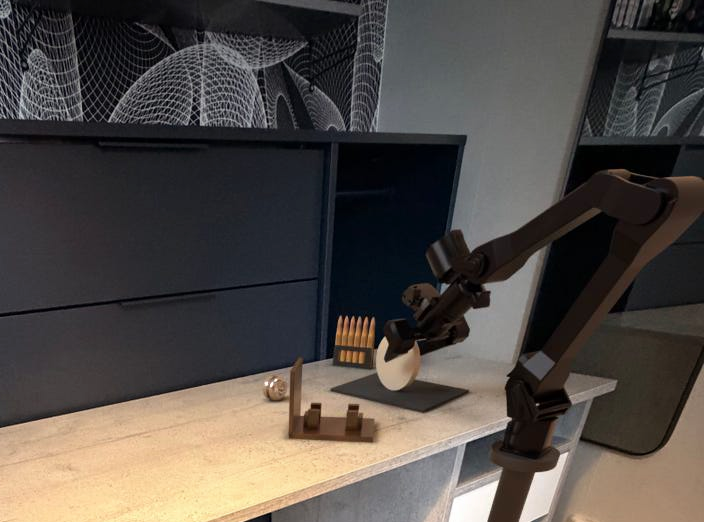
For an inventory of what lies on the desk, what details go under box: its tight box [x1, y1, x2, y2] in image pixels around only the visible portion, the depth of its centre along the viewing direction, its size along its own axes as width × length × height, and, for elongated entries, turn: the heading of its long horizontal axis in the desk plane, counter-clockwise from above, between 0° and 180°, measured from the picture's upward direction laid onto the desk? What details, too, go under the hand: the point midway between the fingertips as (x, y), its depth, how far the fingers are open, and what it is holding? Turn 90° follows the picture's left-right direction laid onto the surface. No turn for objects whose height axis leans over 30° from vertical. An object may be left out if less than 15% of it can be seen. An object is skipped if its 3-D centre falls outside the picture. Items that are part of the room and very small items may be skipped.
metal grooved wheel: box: [262, 374, 288, 402], centre depth 113 cm, size 5×3×5 cm, turn 129°
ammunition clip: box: [332, 315, 376, 370], centre depth 131 cm, size 11×2×12 cm, turn 54°
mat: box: [330, 372, 470, 414], centre depth 114 cm, size 24×18×1 cm
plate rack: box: [287, 357, 376, 443], centre depth 93 cm, size 15×10×12 cm, turn 75°
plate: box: [375, 336, 421, 390], centre depth 111 cm, size 12×2×12 cm, turn 26°
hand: (402, 357), depth 109 cm, fingers open, 9 cm apart
